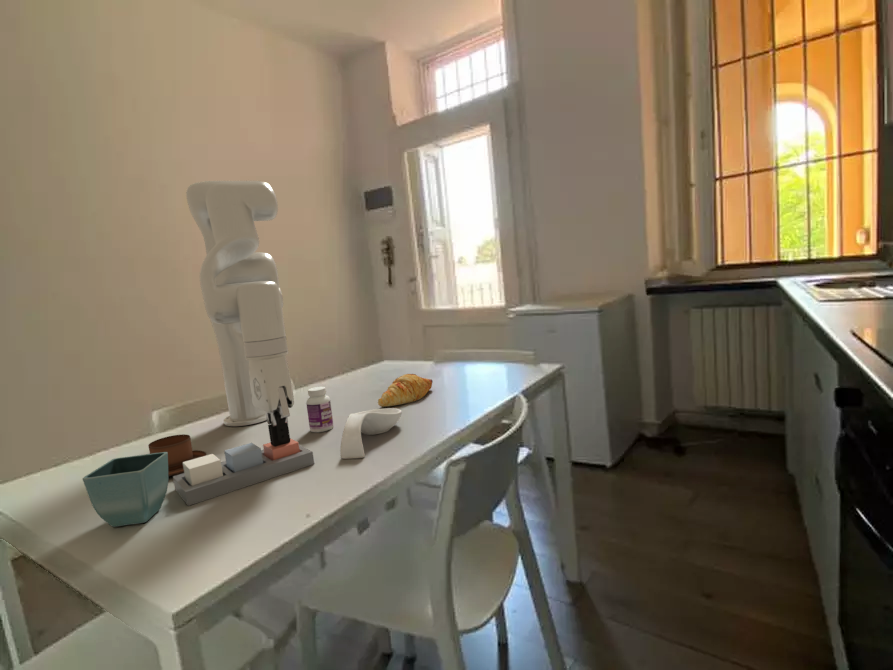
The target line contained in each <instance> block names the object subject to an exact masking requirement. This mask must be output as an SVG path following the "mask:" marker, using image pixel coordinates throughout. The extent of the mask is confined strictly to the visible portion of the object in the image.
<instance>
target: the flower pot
mask: <svg viewBox="0 0 893 670" xmlns="http://www.w3.org/2000/svg"><path fill="white" fill-rule="evenodd" d="M82 482H83V485H84V486H85V489H86V493H87V496H88V497H89V500H90V503H91V506H92V508H93V509H94V511H95V512H96V513H97V515H98V516H99V517H100V518H101V519H102V520H103V521H104V522H105V523H107V524H108V525H110V526H111V527H114V528H115V527H121V526H122V527H123V526H130V525H137V524H143V523H146V522H148V521H149V520H150V519H151V518H152V517H153V516H154V515H155V514H156V513H158V512H159V510H160V509H161V508H162V505H163V503H164V501H165V498H166V495H167V492H168V486H169V476H168V452H161V453H153V454H150V453H147V454H139V455H132V456H130V455H129V456H123V457H122V456H121V457H115V458H112V459H110V460H108V461H107V462H105V463H104V464H103V465H101V466H99V467H98V468H95V470H93V471H91V472H90V473H87V474H86V475H85V476H84V477H82Z"/></svg>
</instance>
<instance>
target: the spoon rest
mask: <svg viewBox="0 0 893 670" xmlns="http://www.w3.org/2000/svg"><path fill="white" fill-rule="evenodd" d="M402 414H403V413H402V410H401V409H400V408H396V407H395V408H394V407H392V408H390V407H387V408H386V407H385V408H376V409H375V408H374V409H368V410H363V411H359V412H355V413H350V414H349V415H347V418H346V421H345V425H344V427H343V431H342V435H341V436H342V437H341V441H340V450H339V451H340V454H339V455H340V459H343V460H345V459H346V460H348V459H349V460H350V459H361V458H365V455H366V454H365V449H364V445H363V440H362V434H363V435H368V436H369V435H370V436H371V435H378V434H384V433H387V432H388V431H390V430H391V429H392V428H393V427H395V426H396V425H397V423H398V422H399V421H400V419H401V417H402Z"/></svg>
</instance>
